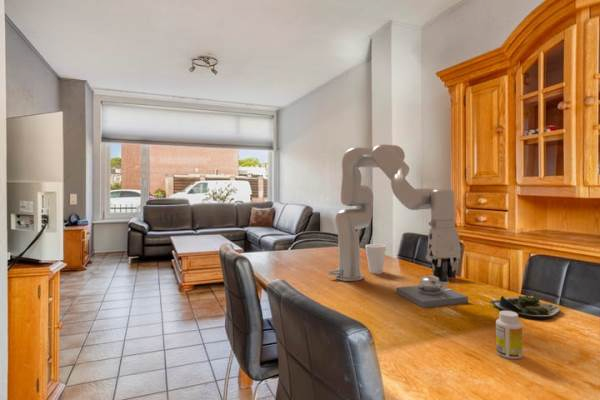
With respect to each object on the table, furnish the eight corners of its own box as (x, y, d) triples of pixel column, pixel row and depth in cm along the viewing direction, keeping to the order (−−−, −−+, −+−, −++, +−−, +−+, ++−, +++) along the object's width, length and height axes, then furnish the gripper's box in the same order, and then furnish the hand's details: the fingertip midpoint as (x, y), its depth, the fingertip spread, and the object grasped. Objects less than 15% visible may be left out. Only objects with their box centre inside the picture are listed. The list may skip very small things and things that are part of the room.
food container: (454, 275, 164) (454, 253, 164) (459, 278, 158) (458, 256, 157) (426, 275, 165) (426, 253, 165) (430, 278, 159) (430, 256, 159)
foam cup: (362, 271, 176) (361, 245, 175) (377, 269, 180) (377, 243, 179) (374, 275, 167) (373, 247, 167) (390, 273, 171) (389, 246, 171)
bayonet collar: (414, 287, 135) (413, 251, 135) (435, 285, 137) (435, 249, 137) (434, 298, 123) (434, 257, 122) (457, 295, 125) (457, 255, 124)
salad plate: (513, 297, 132) (513, 285, 131) (570, 310, 117) (570, 296, 116) (484, 308, 121) (484, 295, 121) (543, 324, 106) (543, 309, 106)
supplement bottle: (524, 353, 88) (524, 312, 87) (519, 362, 84) (519, 319, 83) (499, 347, 91) (499, 307, 91) (493, 355, 87) (492, 313, 87)
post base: (422, 307, 122) (422, 299, 122) (396, 292, 140) (396, 285, 140) (467, 302, 126) (467, 294, 126) (437, 288, 144) (437, 281, 144)
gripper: (428, 226, 119) (428, 281, 119) (470, 224, 123) (471, 277, 123) (415, 224, 126) (416, 276, 127) (456, 222, 130) (456, 272, 131)
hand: (443, 276), depth 125 cm, fingers closed on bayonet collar, 3 cm apart
